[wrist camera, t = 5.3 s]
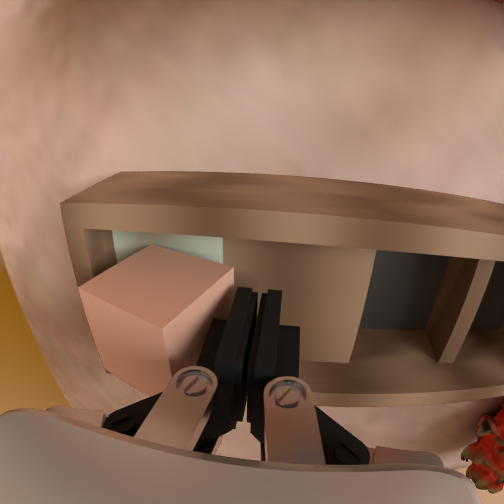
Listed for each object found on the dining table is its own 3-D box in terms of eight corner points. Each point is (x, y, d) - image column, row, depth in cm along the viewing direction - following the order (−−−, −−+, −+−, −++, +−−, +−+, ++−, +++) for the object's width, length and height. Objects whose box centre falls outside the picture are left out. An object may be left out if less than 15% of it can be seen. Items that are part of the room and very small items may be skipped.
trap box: (548, 214, 12) (600, 252, 8) (502, 338, 16) (530, 390, 12) (120, 172, 15) (60, 203, 11) (142, 317, 19) (106, 372, 15)
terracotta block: (233, 266, 12) (162, 328, 8) (234, 348, 13) (180, 413, 10) (151, 244, 13) (77, 287, 10) (162, 319, 15) (104, 368, 12)
